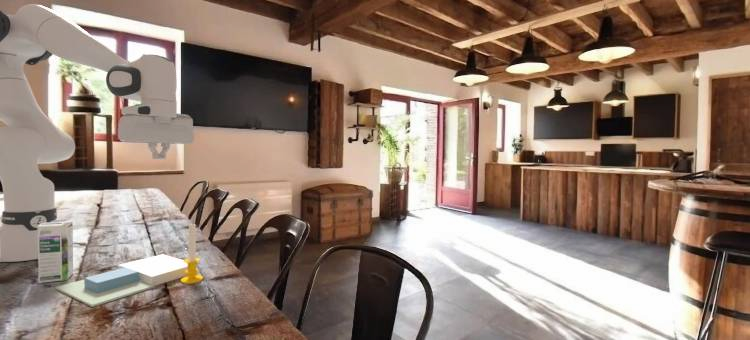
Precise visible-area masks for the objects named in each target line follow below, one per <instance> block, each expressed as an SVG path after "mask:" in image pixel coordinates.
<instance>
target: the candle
mask: <svg viewBox="0 0 750 340" xmlns="http://www.w3.org/2000/svg"><path fill="white" fill-rule="evenodd" d="M196 233H197V230H196V224H195V223H194V222H193V221H191V222H190V223H189V225H188V258H185V259H183V260H184V262H185V263H187V264H188V266H187V269H188V270H187V271H185V274H187V275H188V276H184V277H181V278H180V283H182V284H184V285H185V284H187V285H190V284H197V283H199V282H202V280H203V279H204V277H203V276H202V275H201V274H199V272H200V270H199V269H197V267H198V266H197V263H198V262H199V261H201V258H199V257H197V245H196V244H197V243H196V242H197V238H196V237H197V236H196V235H197V234H196Z"/></svg>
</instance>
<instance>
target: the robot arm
mask: <svg viewBox="0 0 750 340" xmlns="http://www.w3.org/2000/svg"><path fill="white" fill-rule="evenodd" d="M53 55H54V56H56V57H58V58H61V59H62V60H64V61H68V62H71V63H75V64H79V65H82V66H86V67H91V68H94V69H97V70H100V71H103V72H106V73H107V74H106V76H105V83H106V87H107V89H108V91H109V92H110V93H111V94H112V95H114V96H116V97H118V98H122V99H126V100H131V101H135V102H140V103H138V104H134V105H128V106H123V107H121V109H120V112H121V113H120V114H122V116H121V117H120V118H119V120H118V125H117V127H118V128H117V138H118V140H119V141H120V142H122V143H144V144H146V143H147V146H148V149H149V150H150V152H151V153H152V159H153V160H166V158H167V152H168V151H169V150H170V149H171V144H175V145H177V144H178V145H193V143H194V142H195V131H194V120H193V118H192V117H191V116H190V115H188V114H183V113H177V112H178V111H177V99H176V91H177V71H176V70H177V69H176V67H175V63H174V62H173V61H172V60H171V59H170V58H168V57H165V56H163V55H159V54H157V53H156V54H155V53H150V52H149V53H148V52H146V53H143V54H142V55H141V56H140V57H139V58H137V59H135V60H133V61H129V60H127V59H125V58H124V57H122V56H121V55H119V54H117V53H116V52H114V51H113V50H111V49H110V48H108V47H107V46H106V45H105V44H103V43H102V42H100V41H99V40H98V39H96V38H95V37H94V36H92V35H91V34H90V33H88V32H87V31H86V30H84V29H83V28H82V27H81V26H79V25H78V24H76V23H75V22H73V21H72V20H70V19H69V18H67V17H65V16H64V15H63V14H61V13H59V12H57V11H55V10H53V9H50V8H48V7H45V6H43V5H41V4H35V3H30V4H25V5H23V6H20V7H19V8H18V10H17V11H16V13H15V14H6V13H5V12H3V11H2V10H0V121H1V122H2V123H4V124H5V125H6V126H0V183H1V186H2V192H3V195H2V196H3V207H4V209H3V211H2V213H1V226H0V263H5V262H7V263H13V262H24V261H25V262H26V261H33V260H38V238H37V227H38V226H39V225H40V224H42V223H47V222H58V221H57V219H58V209H57V207H55V206H56V205H55V204H56V203H55V201H56V200H55V198H56V197H55V195H56V194H55V183H54V182H53V181H52V180H50V179H49V178H47V177H44V176H43V174H42V173H41V171H40V169H39V166H38V165H39V164H41V165H42V164H55V163H59V162H63V161H66V160H69V159H70V158H71V157H72V156H73V155H74V154H75V151H76V144H75V143H76V142H75V140H74V139H73V137H72V136H71V135H70V134H68V133H66V132H65V131H63V130H62V129H60V128H59V127H57V125H55V124H54V123H53V122H52V121H51V120H50V118H49V117H48V116H47V114H45V112H44V110H42V109H41V107H40V106H39V104H38V102H37V99H36V98H35V97H36V96H34V92H33V90H32V88H31V86H30V83H29V81H28V79H27V78H28V77H27V76H26V74H25V72H24V65H25V64H26V65H28V66H29V65H30V66H35V65H37V64H38V63H39V62H43V61H46V60H48V59H49V58H51V57H52V56H53ZM158 144H160V146H161V151H160V152H158V150H157V148H158Z"/></svg>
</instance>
